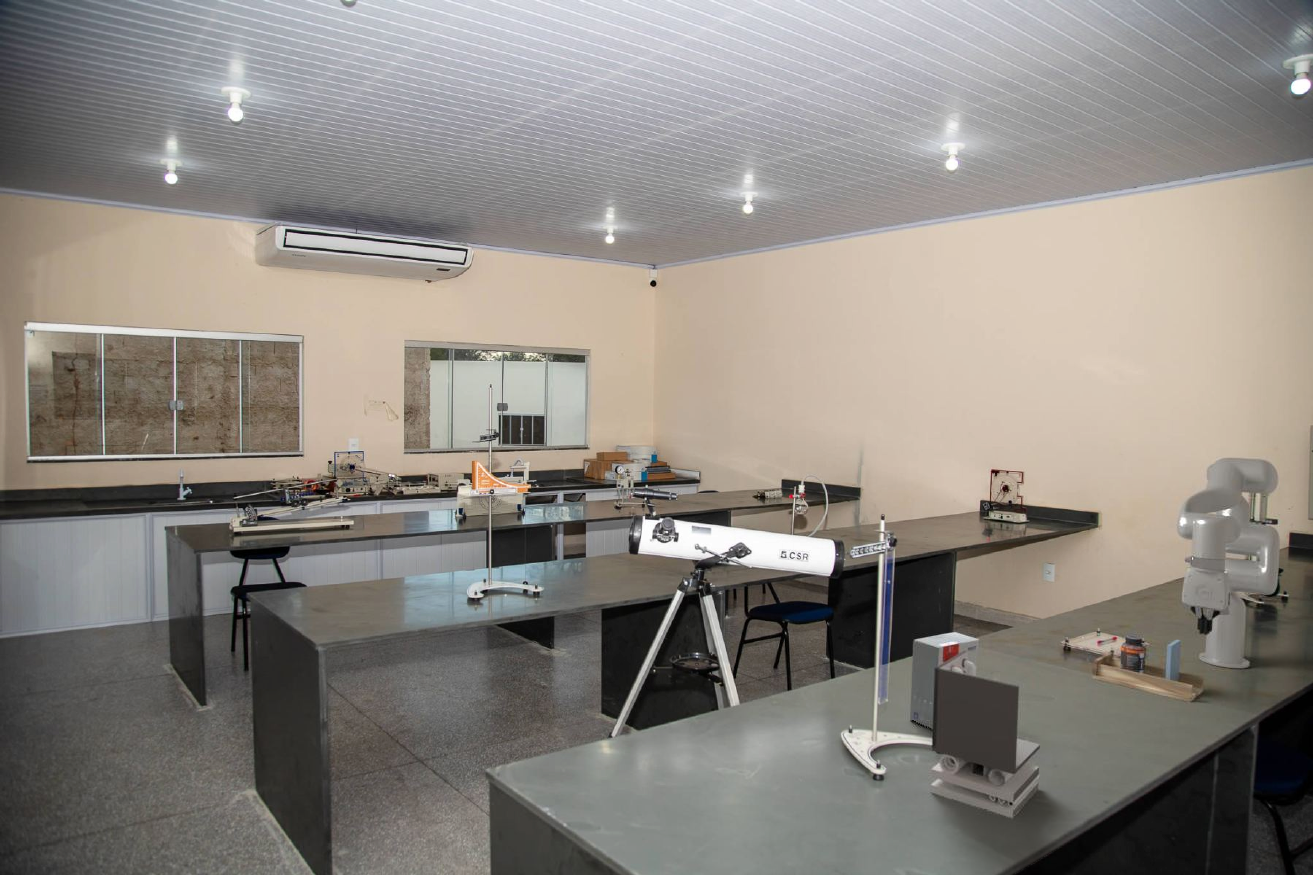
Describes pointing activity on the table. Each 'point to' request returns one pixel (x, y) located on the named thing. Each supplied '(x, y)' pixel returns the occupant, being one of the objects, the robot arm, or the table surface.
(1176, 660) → the pusher plate
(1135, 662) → the supplement bottle
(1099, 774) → the table surface
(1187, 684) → the lane tray
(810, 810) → the table surface
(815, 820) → the table surface
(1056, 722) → the table surface
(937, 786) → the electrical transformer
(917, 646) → the hard drive box
